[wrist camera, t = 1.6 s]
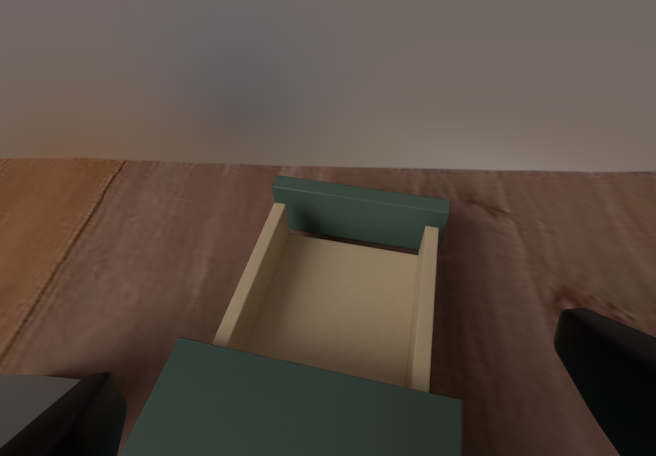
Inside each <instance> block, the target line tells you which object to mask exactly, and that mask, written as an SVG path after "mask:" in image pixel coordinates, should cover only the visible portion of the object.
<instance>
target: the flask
mask: <svg viewBox="0 0 656 456" xmlns="http://www.w3.org/2000/svg"><path fill="white" fill-rule="evenodd" d="M79 381H80V380H79V379H69V378H59V377H49V376H38V375H9V374H0V448H1V447H2V446H3V445H4V444H5V443H7V442H8V441H9V440H10V439H11V438H13V437H14V436H15V435H16V434H17V433H19V432H20V431H21V430H22V429H23V428H24V427H26V426H27V425H28V424H29V423H30V422H32V421H33V420H34V419H35V418H36V417H38V416H39V415H40V414H41V413H42V412H44V411H45V410H46V409H47V408H48V407H49V406H51V405H52V404H53V403H54V402H55V401H57V400H58V399H59V398H60V397H61V396H63V395H64V394H65V393H66V392H67V391H68V390H70V389H71V388H72V387H73V386H74V385H76V384H77V383H78V382H79Z"/></svg>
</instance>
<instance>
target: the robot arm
mask: <svg viewBox="0 0 656 456" xmlns="http://www.w3.org/2000/svg"><path fill="white" fill-rule="evenodd" d="M554 347H555V350H556V352H557V354H558V356H559V358H560V359H561V361H562V363H563V365H564V366H565V368H566V370H567V371H568V373H569V375H570V377H571V378H572V380H573V382H574V384H575V385H576V387H577V389H578V391H579V392H580V394H581V396H582V398H583V399H584V401H585V403H586V404H587V406H588V408H589V410H590V411H591V413H592V415H593V416H594V418H595V419H596V421H597V423H598V424H599V426H600V427H601V428H602V430H603V431H604V433H605V434H606V436H607V437H608V439H609V440H610V441H611V443H612V444H613V446H614V447H615V449H616V450H617V451H618V453H619V454H620V456H656V337H653V336H651V335H648V334H646V333H644V332H641V331H639V330H636V329H634V328H632V327H629V326H627V325H625V324H622V323H620V322H617V321H615V320H613V319H610V318H608V317H605V316H603V315H601V314H598V313H596V312H594V311H591V310H589V309H586V308H573V309H566V310H564V311H562V313H561V314H560V316H559V320H558V324H557V328H556V332H555V336H554ZM125 416H126V401H125V398H124V396H123V394H122V391H121V389H120V387H119V384H118V382H117V380H116V377H115V376H114V374H113V373H111V372H102V373H94V374H90V375H87V376H85V377H84V378H83V379H82V380H80V381H79V382H78V383H77V384H76V385H74V386H73V387H72V388H71V389H70V390H68V391H67V392H66V393H65V394H64V395H63V396H61V397H60V398H59V399H58V400H57V401H55V402H54V403H53V404H52V405H51V406H49V407H48V408H47V409H46V410H45V411H44V412H42V413H41V414H40V415H39V416H38V417H36V418H35V419H34V420H33V421H32V422H30V423H29V424H28V425H27V426H26V427H24V428H23V429H22V430H21V431H20V432H19V433H17V434H16V435H15V436H14V437H13V438H11V439H10V440H9V441H8V442H7V443H5V444H4V445H3V446H2V447H1V448H0V456H117V453H118V449H119V444H120V439H121V435H122V430H123V426H124V421H125Z"/></svg>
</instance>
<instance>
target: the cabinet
mask: <svg viewBox="0 0 656 456" xmlns="http://www.w3.org/2000/svg"><path fill="white" fill-rule="evenodd" d="M119 456H462V400H460V399H455V398H451V397H446V396H442V395H437V394H433V393H428V392H424V391H419V390H415V389H410V388H406V387H401V386H397V385H392V384H388V383H383V382H379V381H374V380H370V379H365V378H361V377H356V376H352V375H347V374H343V373H338V372H334V371H329V370H325V369H321V368H316V367H312V366H307V365H303V364H298V363H294V362H289V361H285V360H280V359H276V358H271V357H267V356H262V355H258V354H253V353H249V352H244V351H240V350H235V349H231V348H226V347H222V346H217V345H213V344H208V343H204V342H199V341H195V340H190V339H186V338H181V337H179V339H178V341H177V343H176V345H175V347H174V349H173V351H172V353H171V355H170V356H169V358H168V360H167V362H166V364H165V366H164V368H163V370H162V372H161V374H160V376H159V378H158V380H157V382H156V384H155V386H154V388H153V390H152V392H151V394H150V396H149V398H148V400H147V402H146V404H145V406H144V408H143V410H142V412H141V414H140V416H139V417H138V419H137V421H136V423H135V425H134V427H133V429H132V431H131V433H130V435H129V437H128V439H127V441H126V443H125V445H124V447H123V449H122V451H121V453H120V455H119Z"/></svg>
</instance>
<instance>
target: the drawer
mask: <svg viewBox="0 0 656 456" xmlns="http://www.w3.org/2000/svg"><path fill="white" fill-rule="evenodd" d="M272 191H273V196H274V202H275V203H274V205H273V208H272V210H271V212H270V214H269V217H268V219H267V221H266V223H265V226H264V228H263V230H262V232H261V235H260V237H259V239H258V241H257V244H256V246H255V248H254V250H253V253H252V255H251V257H250V259H249V262H248V264H247V266H246V268H245V271H244V273H243V275H242V277H241V280H240V282H239V284H238V286H237V289H236V291H235V293H234V295H233V298H232V300H231V302H230V304H229V307H228V309H227V311H226V313H225V316H224V318H223V320H222V322H221V324H220V327H219V329H218V331H217V333H216V336H215V338H214V340H213V342H212V344H213V345H217V346H222V347H226V348H231V349H235V350H240V351H244V352H249V353H253V354H258V355H262V356H267V357H271V358H276V359H280V360H285V361H289V362H294V363H298V364H303V365H307V366H312V367H316V368H321V369H325V370H329V371H334V372H338V373H343V374H347V375H352V376H356V377H361V378H365V379H370V380H374V381H379V382H383V383H388V384H392V385H397V386H401V387H406V388H410V389H415V390H419V391H424V392H428V393H429V387H430V370H431V353H432V336H433V318H434V301H435V284H436V267H437V251H438V248H439V245H440V242H441V239H442V236H443V233H444V230H445V227H446V224H447V221H448V217H449V214H450V200H445V199H438V198H431V197H424V196H417V195H411V194H404V193H397V192H390V191H383V190H376V189H369V188H362V187H355V186H348V185H341V184H334V183H327V182H321V181H314V180H307V179H300V178H293V177H286V176H279V175H277V176H276V178H275V181H274V183H273V185H272ZM289 229H294V230H300V231H306V232H312V233H318V234H324V235H330V236H336V237H342V238H348V239H354V240H360V241H366V242H372V243H378V244H384V245H390V246H396V247H402V248H408V249H414V250H419V253H418V255H413V254H407V253H401V252H395V251H389V250H383V249H377V248H371V247H365V246H359V245H353V244H348V243H342V242H336V241H330V240H324V239H318V238H312V237H306V236H300V235H294V234H290V231H289Z"/></svg>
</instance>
